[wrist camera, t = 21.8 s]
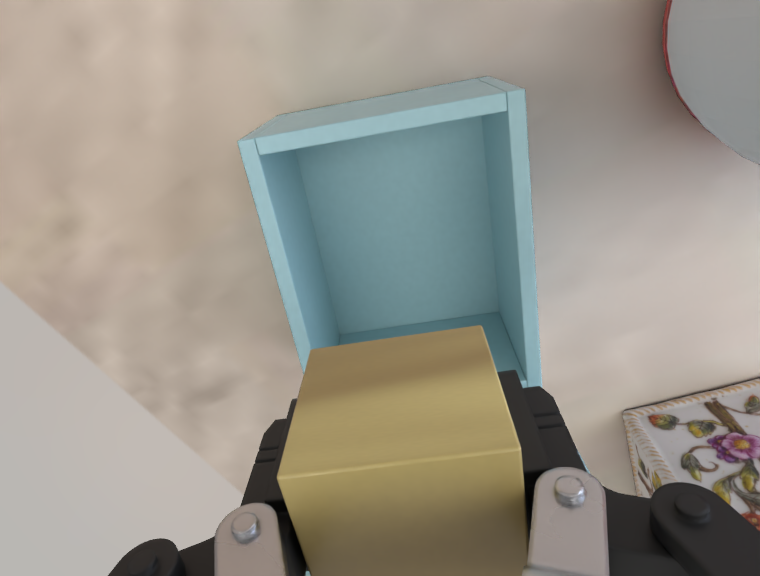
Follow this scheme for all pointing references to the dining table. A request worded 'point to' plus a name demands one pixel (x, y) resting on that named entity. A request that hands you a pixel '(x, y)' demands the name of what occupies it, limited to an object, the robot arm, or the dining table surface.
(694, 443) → the decorative jar
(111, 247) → the dining table surface
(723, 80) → the citrus juicer
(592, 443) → the dining table surface
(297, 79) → the dining table surface
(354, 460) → the block
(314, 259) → the box
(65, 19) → the dining table surface
